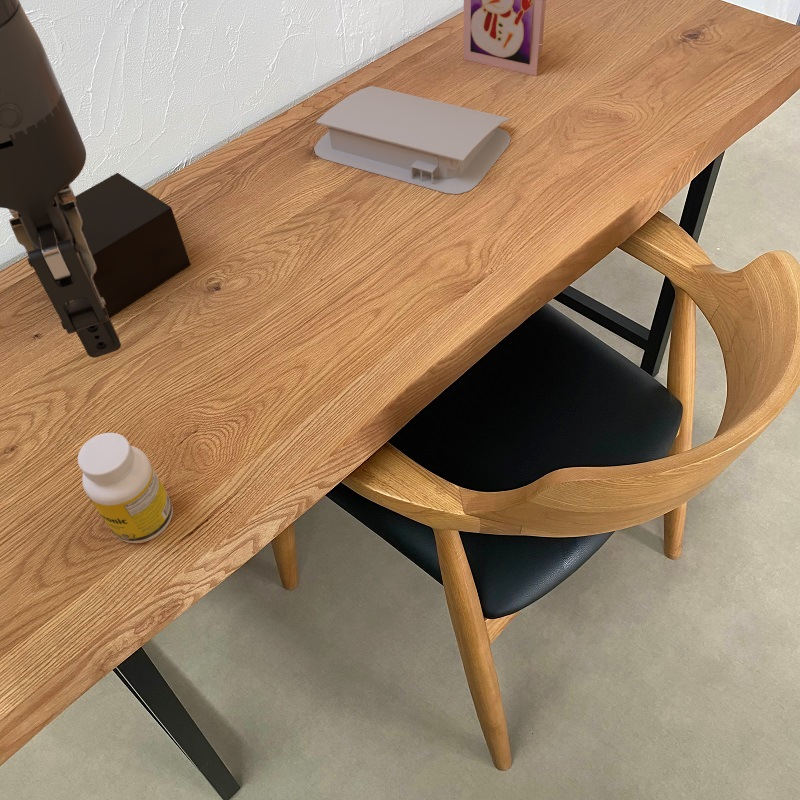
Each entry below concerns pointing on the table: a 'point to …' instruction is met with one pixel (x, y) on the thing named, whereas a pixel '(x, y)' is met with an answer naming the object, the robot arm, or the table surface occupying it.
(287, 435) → the table surface
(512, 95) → the table surface
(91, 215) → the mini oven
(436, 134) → the miniature building model
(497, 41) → the greeting card
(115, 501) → the supplement bottle
